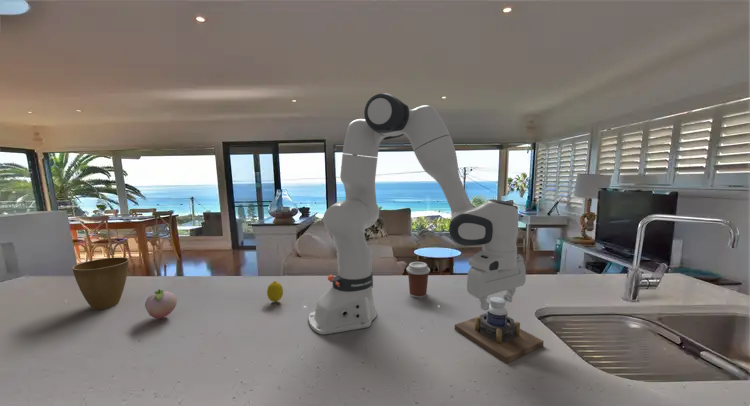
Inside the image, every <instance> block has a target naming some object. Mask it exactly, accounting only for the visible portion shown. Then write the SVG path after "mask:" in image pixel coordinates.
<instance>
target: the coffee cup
mask: <svg viewBox="0 0 750 406" xmlns="http://www.w3.org/2000/svg"><path fill="white" fill-rule="evenodd" d="M428 266H429V265H428V264H427V262H423V261H413V262H410V263H409V264H408V266H407V267H406V268H405V269H406V270H405V271H406V272H407V275H408V276H407V277H408V287H409V296H411V297H412V298H417V299H422V298H425V297H427V292H428V280H429V273H430V272H431V269H430V267H428Z"/></svg>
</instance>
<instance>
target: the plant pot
mask: <svg viewBox="0 0 750 406" xmlns="http://www.w3.org/2000/svg"><path fill="white" fill-rule="evenodd" d="M129 260H130V259H129V258H128V257H117V256H115V257H107V258H106V257H105V258H98V259H92V260H88V261H84V262H80V263H78V264H75V265H73V266H72V268H71V269H72V272H73V276H74V278H75V282H76V283H77V284H76V285H78V288H79V291H80V292H81V294H82V296H83V298H84V300H85V301H86V303H87V304H88V305H89V307H90V308H91V309H92V310H95V311H96V310H99V311H100V310H104V309H105V310H106V309H109V308H112V307H114V305H115V306H116V304H117V305H118V304H119V303H120V301H121V298H122V296H123V292H124V288H125V286H126V282H127V277H128V270H129V262H130V261H129Z"/></svg>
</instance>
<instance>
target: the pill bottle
mask: <svg viewBox="0 0 750 406" xmlns="http://www.w3.org/2000/svg"><path fill="white" fill-rule="evenodd" d="M486 313H487V323H489V324H490V325H492V326H498V327H507V316H508V308H507V307H506V302H505V300H504V298H502V297H498V296H492V297H490V298H489V309H488V310H486ZM486 330H487V331H488V332H490V333H492V334H495V335H496V332H491V331H489V330H488V329H486ZM505 335H506V334H505V333H502V336H505Z"/></svg>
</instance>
